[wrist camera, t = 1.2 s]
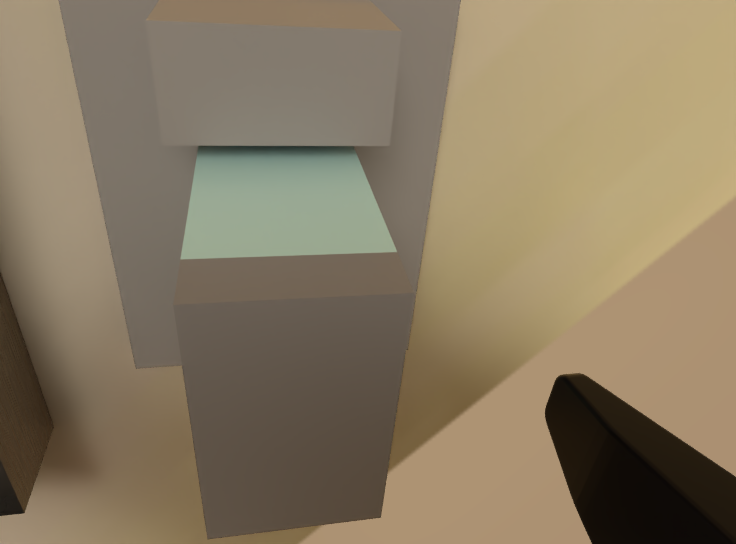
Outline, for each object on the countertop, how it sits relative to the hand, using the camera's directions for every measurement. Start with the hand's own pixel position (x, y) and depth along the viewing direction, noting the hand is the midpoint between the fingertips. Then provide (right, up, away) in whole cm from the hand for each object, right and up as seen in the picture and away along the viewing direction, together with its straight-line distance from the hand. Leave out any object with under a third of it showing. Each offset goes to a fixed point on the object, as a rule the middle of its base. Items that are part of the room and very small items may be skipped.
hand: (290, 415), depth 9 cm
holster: (-1, +4, +6) cm, 7 cm away
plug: (-1, +4, +5) cm, 7 cm away
